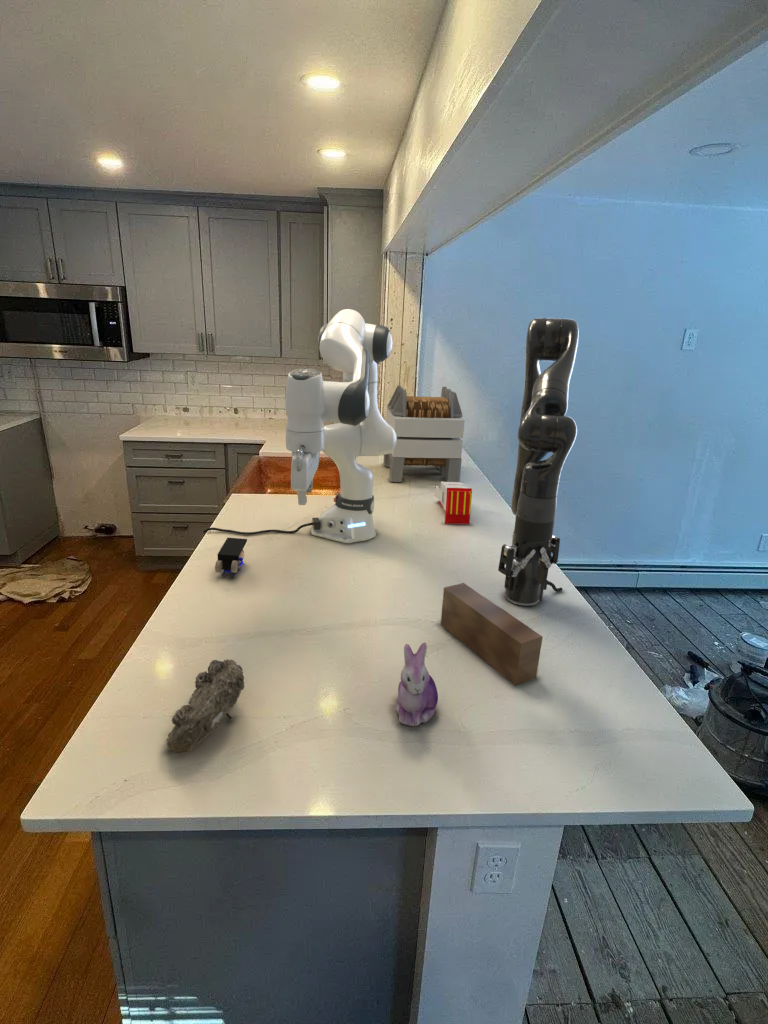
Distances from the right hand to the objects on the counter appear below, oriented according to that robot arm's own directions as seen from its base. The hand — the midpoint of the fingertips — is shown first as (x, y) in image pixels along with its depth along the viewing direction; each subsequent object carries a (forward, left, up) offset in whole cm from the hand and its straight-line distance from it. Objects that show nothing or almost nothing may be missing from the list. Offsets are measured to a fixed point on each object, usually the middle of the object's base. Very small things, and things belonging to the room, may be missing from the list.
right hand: (525, 586), depth 119 cm
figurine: (+26, +6, -21) cm, 34 cm away
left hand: (+38, -38, +10) cm, 55 cm away
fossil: (+64, -4, -21) cm, 67 cm away
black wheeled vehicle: (+54, -68, -21) cm, 89 cm away
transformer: (-44, -153, -21) cm, 161 cm away
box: (+2, -10, -21) cm, 23 cm away
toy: (-34, -99, -21) cm, 107 cm away
